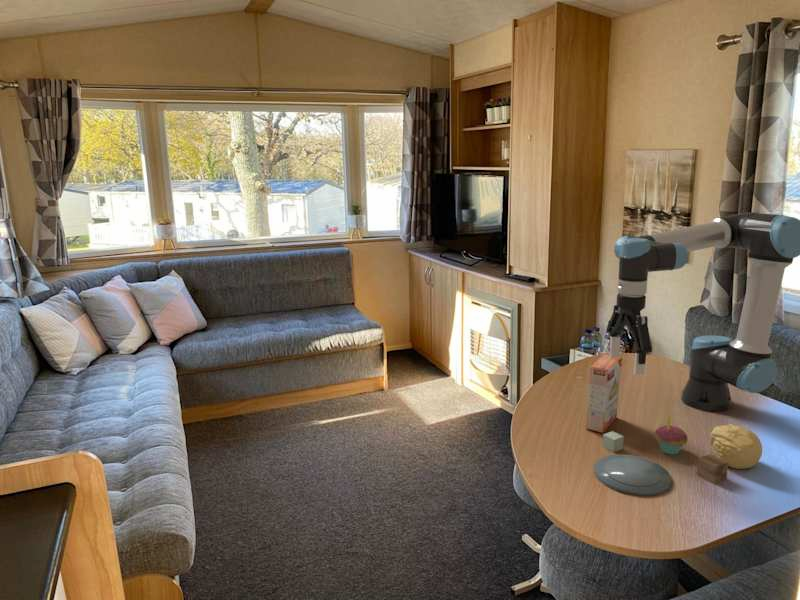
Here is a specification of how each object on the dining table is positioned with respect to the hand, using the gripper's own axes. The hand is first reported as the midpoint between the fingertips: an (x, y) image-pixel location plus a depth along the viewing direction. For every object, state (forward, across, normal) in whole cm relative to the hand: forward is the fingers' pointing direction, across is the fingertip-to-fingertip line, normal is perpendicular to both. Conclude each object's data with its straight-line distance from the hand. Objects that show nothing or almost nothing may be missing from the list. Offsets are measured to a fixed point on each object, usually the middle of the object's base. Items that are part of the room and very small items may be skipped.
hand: (626, 365), depth 172 cm
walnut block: (+24, +23, +13) cm, 36 cm away
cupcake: (+24, +8, +11) cm, 27 cm away
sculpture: (+24, +18, +24) cm, 38 cm away
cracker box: (+24, -12, 0) cm, 27 cm away
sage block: (+24, +4, -4) cm, 24 cm away
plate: (+24, +19, -7) cm, 31 cm away
